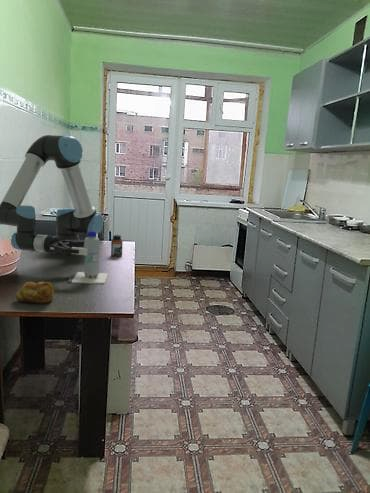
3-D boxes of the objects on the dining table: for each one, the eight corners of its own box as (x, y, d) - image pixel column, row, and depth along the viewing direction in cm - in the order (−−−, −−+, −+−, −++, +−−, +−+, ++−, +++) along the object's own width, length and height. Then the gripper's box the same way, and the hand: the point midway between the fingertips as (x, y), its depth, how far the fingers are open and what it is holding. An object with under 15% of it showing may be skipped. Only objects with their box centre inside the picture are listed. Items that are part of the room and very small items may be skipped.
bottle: (93, 279, 163) (94, 232, 159) (80, 277, 165) (80, 231, 161) (102, 275, 169) (103, 230, 165) (89, 273, 172) (89, 228, 168)
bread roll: (12, 305, 132) (11, 282, 130) (21, 295, 142) (21, 274, 140) (50, 306, 133) (50, 283, 132) (57, 296, 143) (57, 275, 141)
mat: (74, 273, 173) (74, 271, 172) (108, 274, 174) (108, 272, 174) (67, 282, 159) (67, 281, 159) (104, 283, 160) (104, 282, 160)
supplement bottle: (112, 254, 212) (112, 233, 210) (123, 254, 212) (123, 234, 210) (109, 256, 206) (110, 235, 204) (121, 257, 206) (121, 236, 204)
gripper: (61, 246, 181) (104, 251, 178) (31, 258, 157) (80, 264, 153) (60, 231, 179) (104, 235, 176) (31, 240, 155) (81, 245, 152)
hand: (93, 248), depth 165 cm, fingers open, 13 cm apart
